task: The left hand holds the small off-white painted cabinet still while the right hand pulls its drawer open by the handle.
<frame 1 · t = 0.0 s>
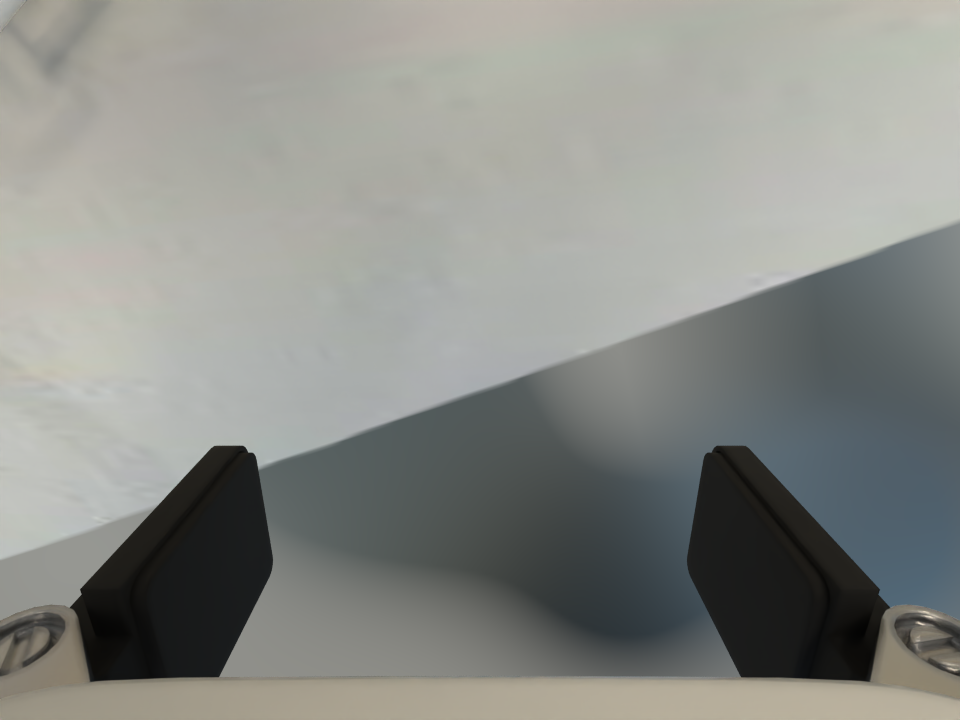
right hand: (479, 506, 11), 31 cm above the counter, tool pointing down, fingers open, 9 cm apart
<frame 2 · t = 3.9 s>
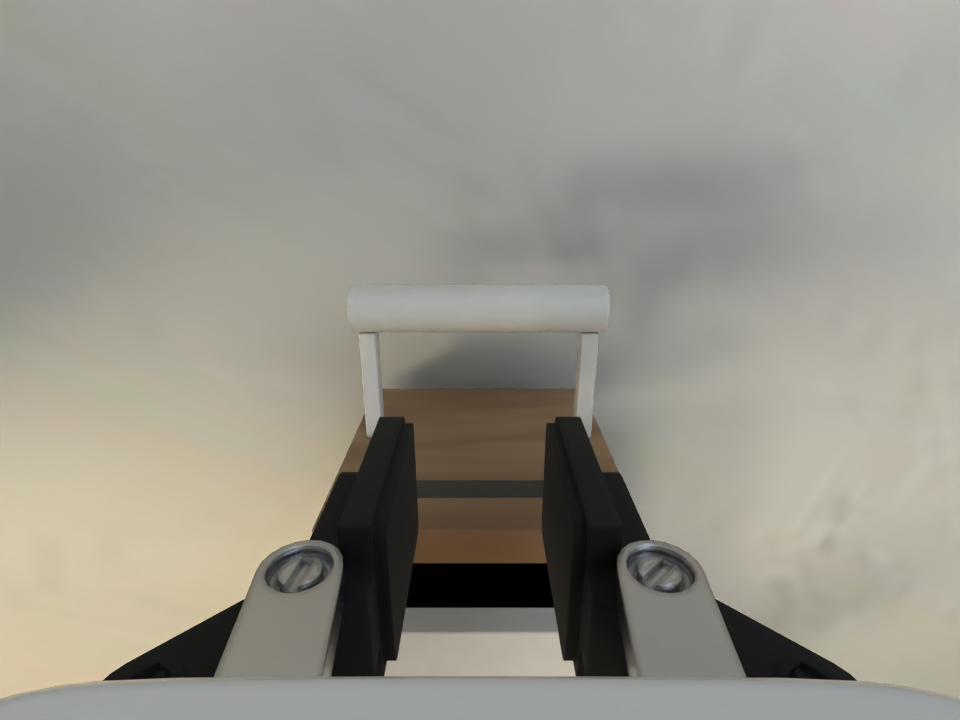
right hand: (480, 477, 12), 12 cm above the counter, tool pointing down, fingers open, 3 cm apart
drawer: (478, 560, 21), point 6 cm above the counter, slide at 1.5 cm
cabinet: (479, 576, 29), on the counter, touching left hand
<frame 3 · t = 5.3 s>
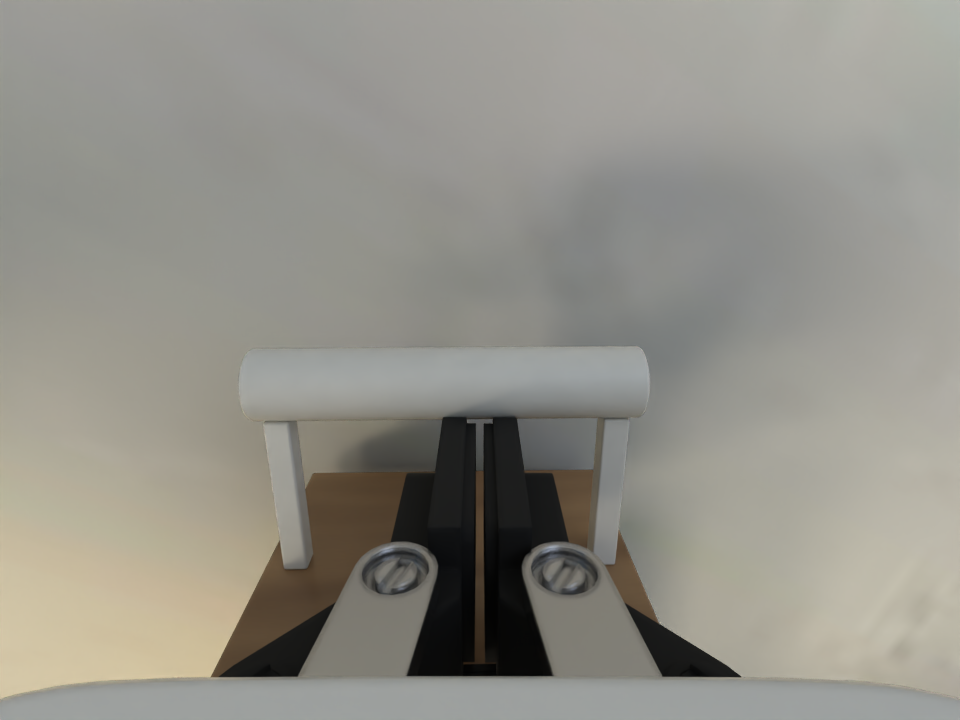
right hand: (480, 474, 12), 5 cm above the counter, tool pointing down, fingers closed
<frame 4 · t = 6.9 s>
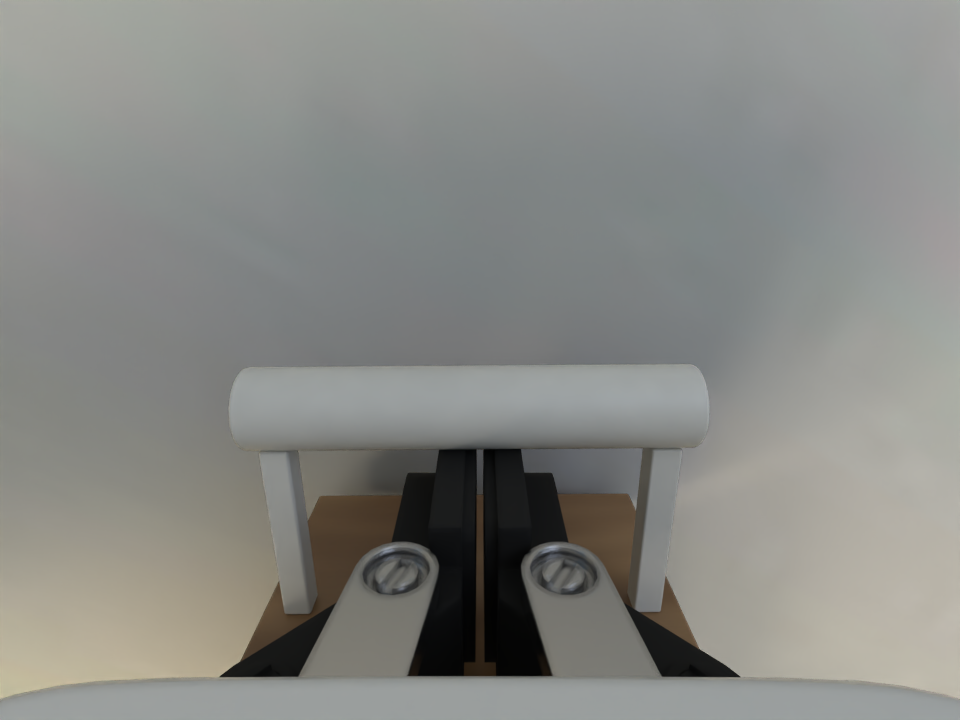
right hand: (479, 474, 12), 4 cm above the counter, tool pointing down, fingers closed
when the left hand's fingers open (7 cm above the counter, at t = 8.9 s): cabinet stays where it is, on the counter.
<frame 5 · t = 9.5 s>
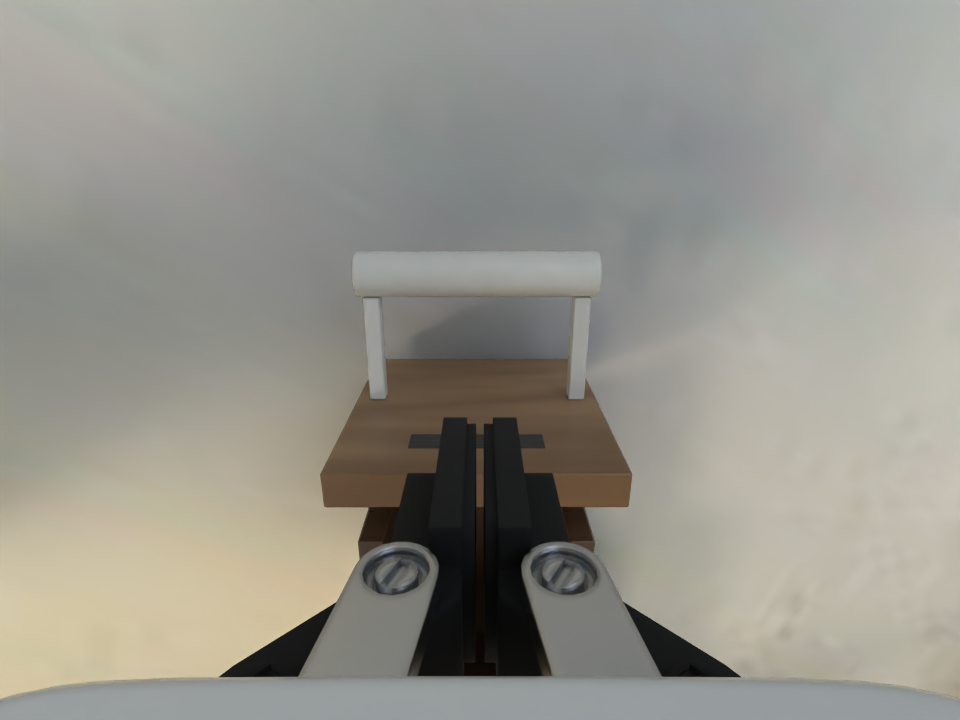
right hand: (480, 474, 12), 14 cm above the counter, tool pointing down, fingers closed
drawer: (477, 519, 22), point 6 cm above the counter, slide at 9.9 cm
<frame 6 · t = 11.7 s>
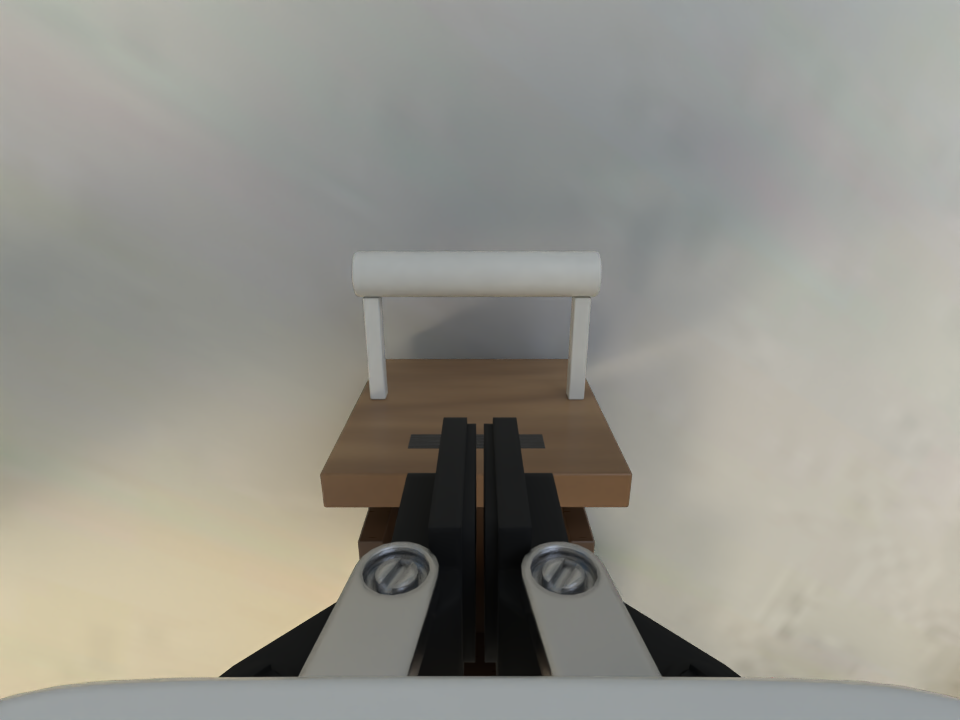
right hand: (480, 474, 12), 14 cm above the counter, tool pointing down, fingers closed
drawer: (477, 519, 22), point 6 cm above the counter, slide at 9.9 cm
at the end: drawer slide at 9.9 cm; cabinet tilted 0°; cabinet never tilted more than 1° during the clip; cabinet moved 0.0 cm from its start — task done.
